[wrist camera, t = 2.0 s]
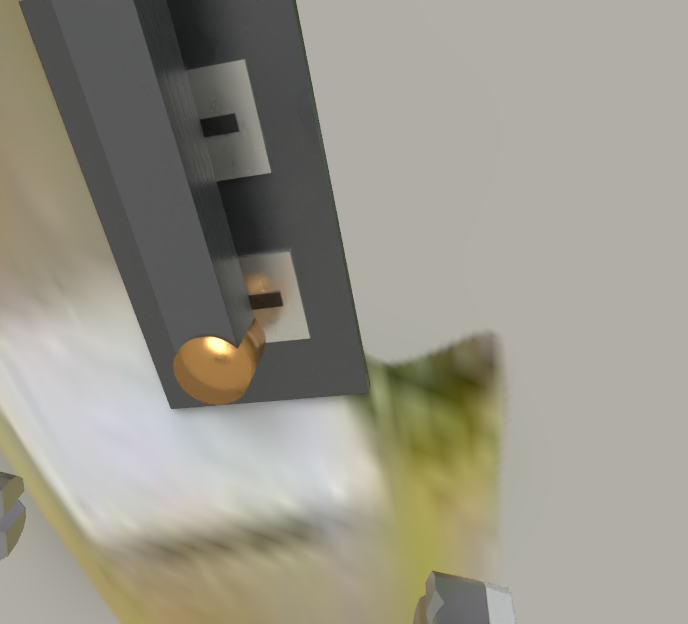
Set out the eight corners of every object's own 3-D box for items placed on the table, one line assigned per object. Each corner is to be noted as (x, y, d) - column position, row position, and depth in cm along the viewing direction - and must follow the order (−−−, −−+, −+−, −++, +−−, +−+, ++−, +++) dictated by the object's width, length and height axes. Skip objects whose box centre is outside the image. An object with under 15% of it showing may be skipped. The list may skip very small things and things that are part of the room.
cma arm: (-4, -234, 21) (-71, -270, 18) (111, -271, 20) (60, -315, 17) (200, 371, 32) (178, 408, 29) (280, 364, 31) (266, 401, 28)
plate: (284, -58, 25) (278, -60, 24) (370, 384, 35) (368, 397, 33) (29, 1, 27) (13, 1, 26) (175, 401, 37) (168, 412, 36)
